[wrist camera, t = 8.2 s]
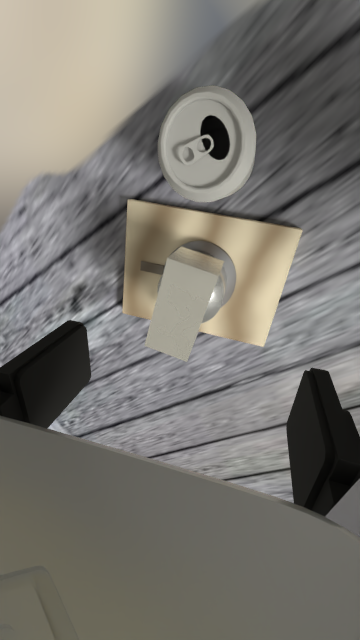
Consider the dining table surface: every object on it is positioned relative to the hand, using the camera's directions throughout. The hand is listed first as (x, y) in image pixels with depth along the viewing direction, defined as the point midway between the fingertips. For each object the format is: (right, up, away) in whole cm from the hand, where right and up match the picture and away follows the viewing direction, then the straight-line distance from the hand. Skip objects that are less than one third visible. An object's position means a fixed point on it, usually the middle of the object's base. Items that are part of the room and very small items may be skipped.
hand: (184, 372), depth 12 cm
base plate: (+3, +8, +24) cm, 25 cm away
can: (+4, +20, +18) cm, 27 cm away
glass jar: (+2, +7, +22) cm, 23 cm away
